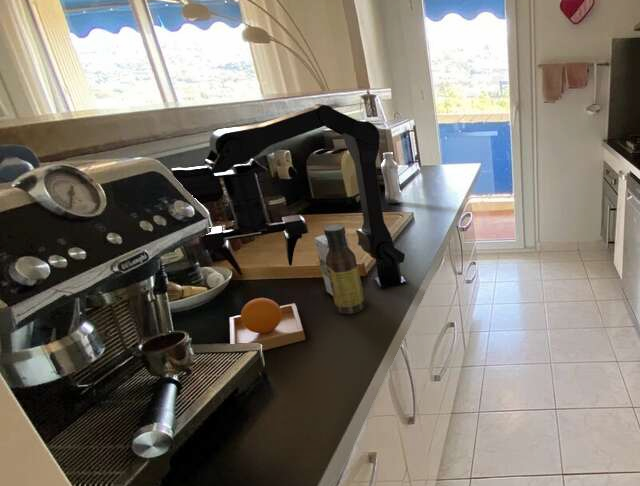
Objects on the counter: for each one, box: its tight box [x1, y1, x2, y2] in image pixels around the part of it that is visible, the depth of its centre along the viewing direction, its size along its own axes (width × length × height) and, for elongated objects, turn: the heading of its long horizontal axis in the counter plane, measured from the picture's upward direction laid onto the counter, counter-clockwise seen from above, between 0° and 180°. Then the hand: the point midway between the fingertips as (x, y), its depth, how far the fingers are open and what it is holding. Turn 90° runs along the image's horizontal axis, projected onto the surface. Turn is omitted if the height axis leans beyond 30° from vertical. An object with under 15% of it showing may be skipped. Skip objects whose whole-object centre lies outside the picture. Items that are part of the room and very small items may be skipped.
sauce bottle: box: [323, 224, 365, 315], centre depth 98 cm, size 6×6×20 cm
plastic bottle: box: [380, 151, 403, 204], centre depth 180 cm, size 6×7×20 cm
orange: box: [240, 297, 282, 333], centre depth 91 cm, size 7×7×7 cm
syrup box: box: [313, 234, 350, 297], centre depth 107 cm, size 6×6×14 cm
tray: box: [229, 302, 306, 351], centre depth 93 cm, size 14×13×2 cm
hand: (266, 269), depth 95 cm, fingers open, 9 cm apart
